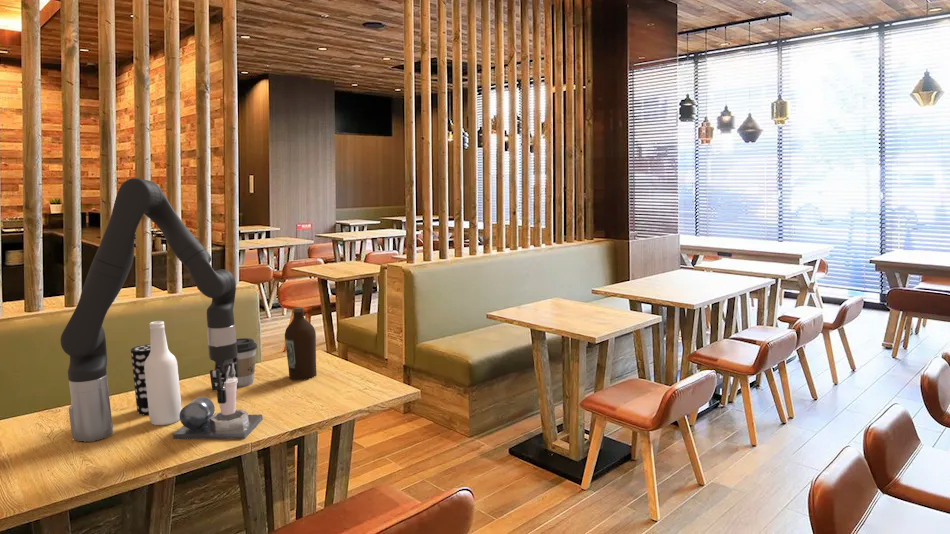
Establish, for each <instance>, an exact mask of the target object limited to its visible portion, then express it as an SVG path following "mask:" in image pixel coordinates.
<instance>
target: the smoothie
mask: <svg viewBox="0 0 950 534" xmlns="http://www.w3.org/2000/svg"><path fill="white" fill-rule="evenodd" d="M221 379H224V378H221ZM237 383H238V379H237V378H236V377H228V382H226V383H225V384H226V387H225V390H226V403H222V404H219V409H220V412H221V413H222V415H230V414H233V413H235V410H236V408H237V407H236V406H237V405H236V404H237V388H238V387H237ZM215 384H216V383H215ZM222 384H223V382H222Z"/></svg>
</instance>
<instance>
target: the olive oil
mask: <svg viewBox="0 0 950 534" xmlns="http://www.w3.org/2000/svg"><path fill="white" fill-rule="evenodd" d="M293 316H294V317H293V320H292V321H291V322H290V323H289V324H288V326H286V328H285V332H284V341H285V342H284V343H285V351H286V357H287V358H286V359H287V365H288V366H287V367H288V376H289V379H290V380H294V381H303V380H304V379H306V380H310V379H309V378H311V379H313V378H315V377H316V376H317V348H316V347H317V345H316V343H317V339H316V337H317V334H316V329H315V328H314V326H313V325H312V323H311V322H310V321H308V320H307V319H306V318H305V311H304V307H303V306H295V307H294V308H293ZM314 376H315V377H314ZM312 377H313V378H312ZM304 381H305V380H304Z"/></svg>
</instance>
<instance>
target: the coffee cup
mask: <svg viewBox="0 0 950 534" xmlns="http://www.w3.org/2000/svg"><path fill="white" fill-rule="evenodd" d="M236 339H237V352H238V355H237V357H238V378H237V379H238V383H237V388H239V387H240V388H241V387H246V386H251V385H252V384H254V381H255V370H256V369H255V368H256V355H257V354H256V352H257V351H256V350H257V348H258V344H257V342H255V341H254V339H253V338H251V337H250V338H249V337H243V338H242V337H241V338H236Z"/></svg>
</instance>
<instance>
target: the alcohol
mask: <svg viewBox="0 0 950 534" xmlns="http://www.w3.org/2000/svg"><path fill="white" fill-rule="evenodd" d="M148 325H149V329H150V330H149V332H150V334H149V337H150V341H149V342H150V347H151V351H150V355H149V356H148V357H147V359H146V361H145V365H144V370H145V380H146V389H147V399H148V409H149V415H148V416H149V422H150V423H151V424H152V425H153V424H154V426H156V425H163V426H167V424H169V425H172V423H173V424H175V422H176V423H178V422H179V421H180V412H181V410H182V409H183V408H182V401H181V400H182V398H181V389H180V388H181V387H180V379H179V367H178V360H177V357H176V356H175V355H174V354H173V353H172V352H171V351H170V350H169V347H168V346H169V345H168V342H167V341H168V340H167V335H166V330H165V328H166V327H165V326H166V325H165V321H163V320H155V321H151V322H149V324H148ZM177 421H178V422H177Z"/></svg>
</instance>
